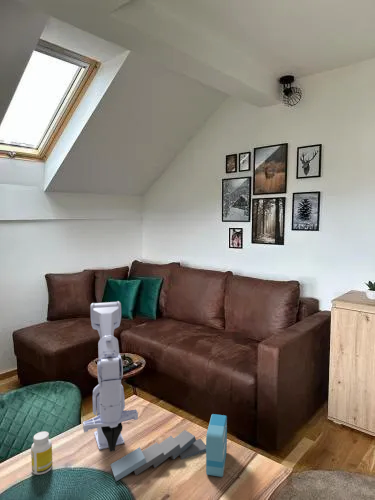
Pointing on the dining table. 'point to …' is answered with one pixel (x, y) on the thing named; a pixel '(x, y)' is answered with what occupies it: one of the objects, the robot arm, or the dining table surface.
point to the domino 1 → (150, 457)
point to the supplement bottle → (41, 453)
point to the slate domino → (128, 464)
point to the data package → (216, 445)
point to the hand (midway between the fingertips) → (111, 449)
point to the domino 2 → (168, 449)
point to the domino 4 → (194, 449)
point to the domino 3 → (183, 442)
